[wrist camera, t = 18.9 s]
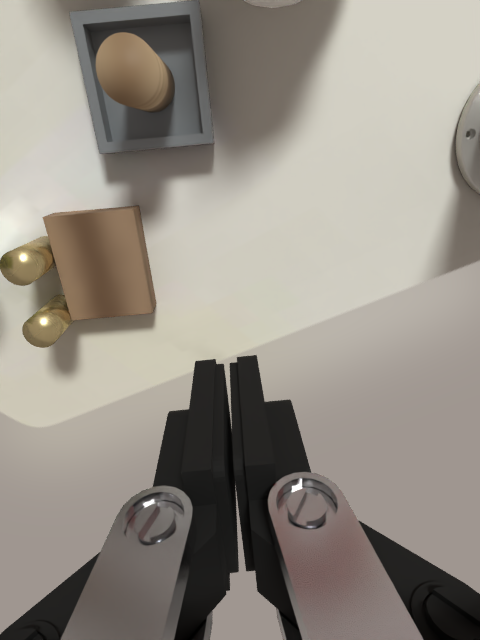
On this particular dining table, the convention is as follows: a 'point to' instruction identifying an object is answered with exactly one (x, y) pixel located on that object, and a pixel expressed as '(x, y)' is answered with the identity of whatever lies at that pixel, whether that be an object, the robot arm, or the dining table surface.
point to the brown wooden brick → (102, 262)
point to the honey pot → (272, 3)
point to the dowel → (134, 73)
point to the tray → (175, 51)
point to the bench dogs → (26, 269)
